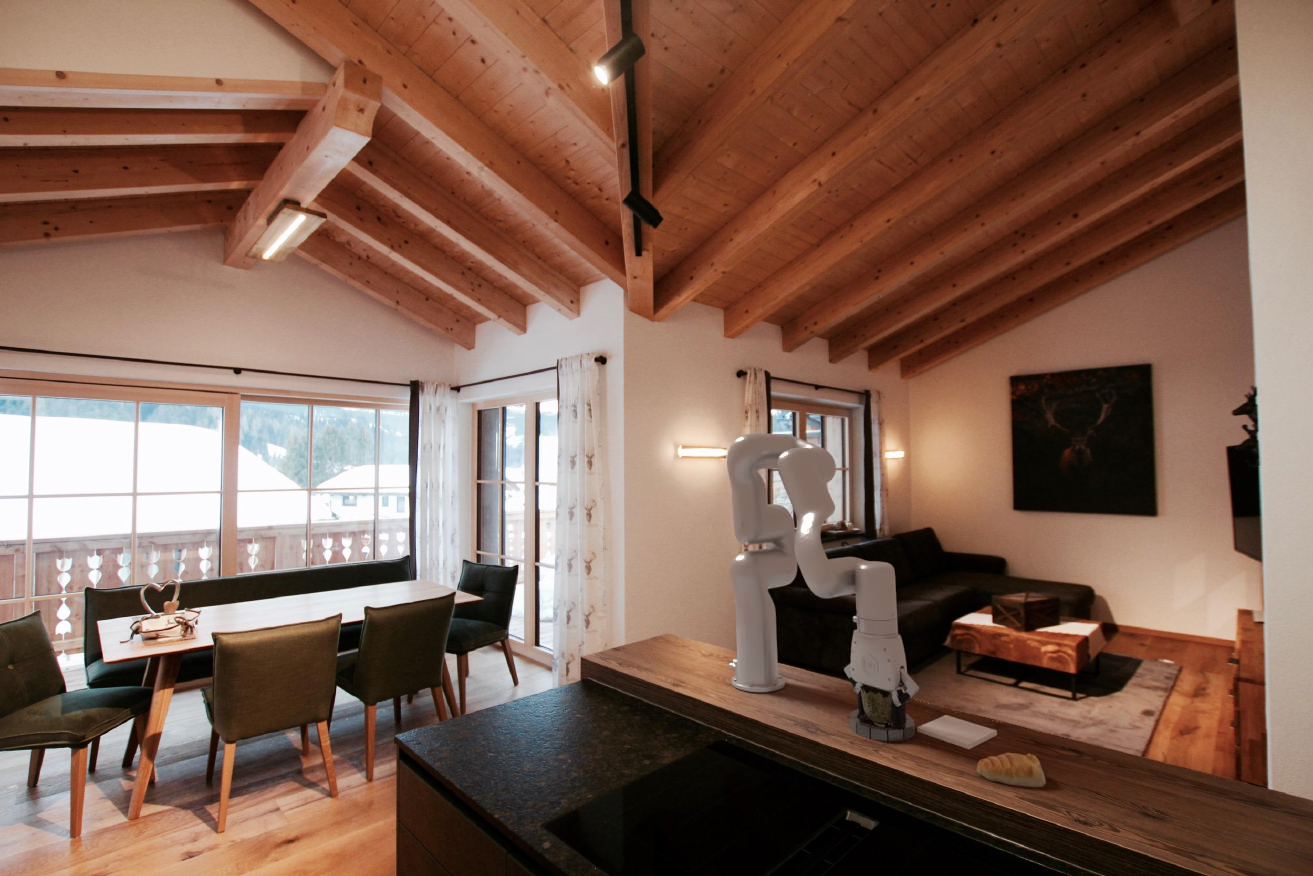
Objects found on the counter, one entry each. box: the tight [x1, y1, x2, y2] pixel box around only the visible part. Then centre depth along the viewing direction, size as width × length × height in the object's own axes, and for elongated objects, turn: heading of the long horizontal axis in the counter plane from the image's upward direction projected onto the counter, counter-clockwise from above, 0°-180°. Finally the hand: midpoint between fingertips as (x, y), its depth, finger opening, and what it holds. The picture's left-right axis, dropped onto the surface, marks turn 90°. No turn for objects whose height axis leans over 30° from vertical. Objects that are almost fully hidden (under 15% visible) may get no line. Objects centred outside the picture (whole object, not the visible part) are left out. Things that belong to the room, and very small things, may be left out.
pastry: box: [976, 752, 1047, 788], centre depth 101 cm, size 9×7×4 cm
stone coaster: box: [916, 714, 998, 750], centre depth 118 cm, size 10×10×1 cm
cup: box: [860, 685, 899, 728], centre depth 121 cm, size 8×7×8 cm
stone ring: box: [849, 708, 915, 743], centre depth 121 cm, size 12×12×2 cm
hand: (881, 718), depth 121 cm, fingers closed on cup, 7 cm apart
